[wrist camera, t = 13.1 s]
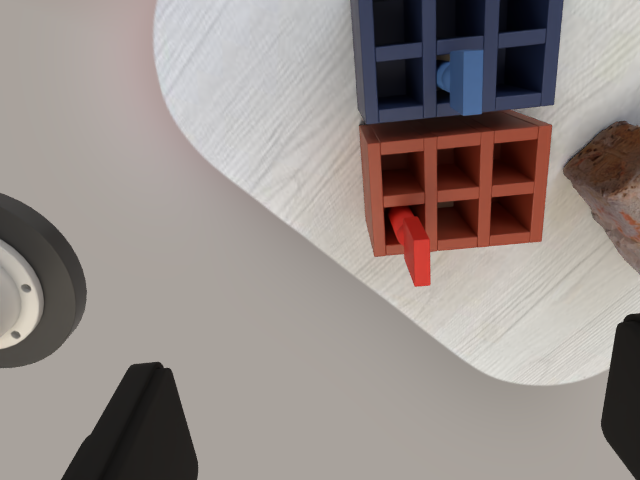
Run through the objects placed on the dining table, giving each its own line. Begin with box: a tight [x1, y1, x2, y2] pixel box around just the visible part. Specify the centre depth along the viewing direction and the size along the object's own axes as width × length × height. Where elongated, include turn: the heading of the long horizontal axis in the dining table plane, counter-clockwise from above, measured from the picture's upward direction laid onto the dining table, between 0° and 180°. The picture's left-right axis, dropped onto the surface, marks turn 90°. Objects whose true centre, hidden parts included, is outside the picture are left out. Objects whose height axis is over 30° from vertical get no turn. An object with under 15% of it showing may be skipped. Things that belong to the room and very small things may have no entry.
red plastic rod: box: [385, 205, 430, 287], centre depth 35 cm, size 2×3×14 cm, turn 6°
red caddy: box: [359, 110, 552, 257], centre depth 37 cm, size 13×9×8 cm
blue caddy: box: [350, 0, 563, 125], centre depth 33 cm, size 13×9×8 cm
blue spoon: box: [436, 50, 484, 116], centre depth 30 cm, size 2×3×14 cm, turn 6°
